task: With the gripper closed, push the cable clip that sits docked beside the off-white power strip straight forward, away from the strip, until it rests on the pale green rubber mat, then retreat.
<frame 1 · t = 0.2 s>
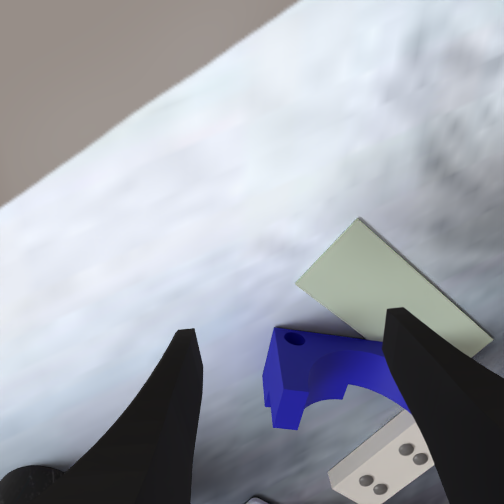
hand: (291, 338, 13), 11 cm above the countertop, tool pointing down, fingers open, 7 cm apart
power strip: (404, 437, 30), on the countertop
mat: (398, 312, 26), on the countertop
travel mug: (42, 491, 31), on the countertop
cable clip: (344, 360, 27), on the countertop, touching mat
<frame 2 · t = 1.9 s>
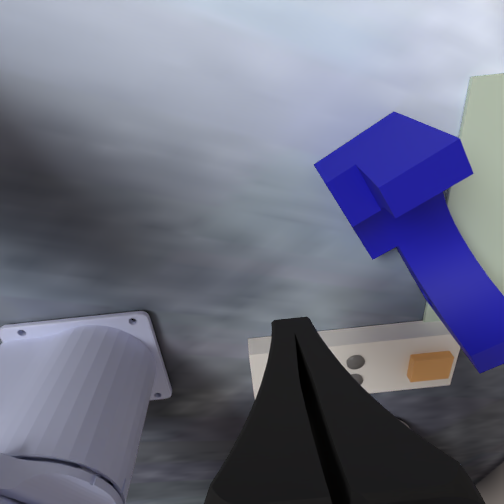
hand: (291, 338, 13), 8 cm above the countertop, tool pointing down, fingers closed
power strip: (348, 354, 25), on the countertop
mat: (493, 215, 20), on the countertop
cable clip: (398, 225, 20), on the countertop, touching mat
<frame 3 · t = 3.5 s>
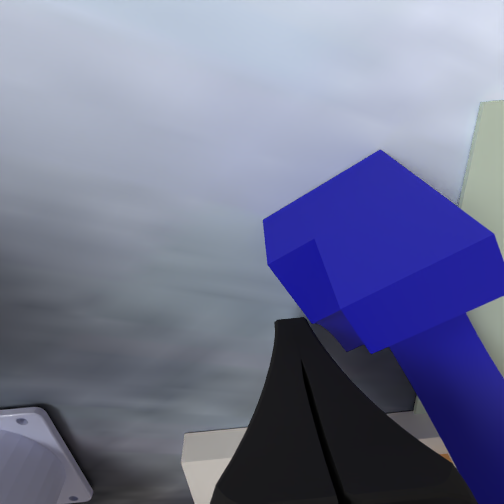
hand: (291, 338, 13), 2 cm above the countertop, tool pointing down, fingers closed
power strip: (317, 448, 20), on the countertop
cable clip: (385, 299, 15), on the countertop, touching gripper
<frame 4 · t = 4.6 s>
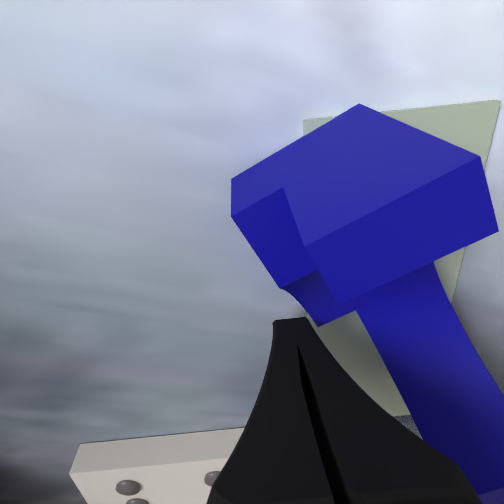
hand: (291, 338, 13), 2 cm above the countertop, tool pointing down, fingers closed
power strip: (219, 458, 20), on the countertop
mat: (378, 301, 15), on the countertop
cable clip: (360, 274, 14), resting on mat, touching gripper
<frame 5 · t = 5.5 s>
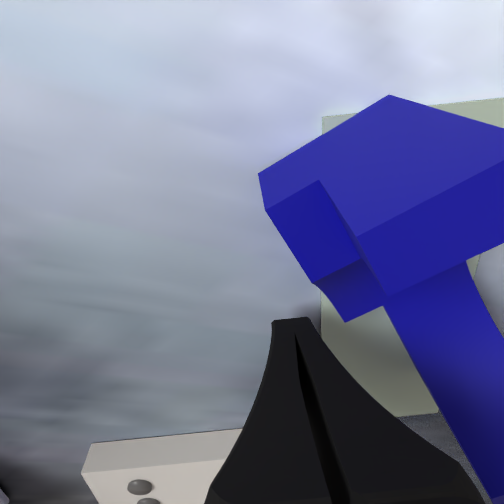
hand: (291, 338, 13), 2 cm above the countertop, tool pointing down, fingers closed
power strip: (230, 457, 20), on the countertop
mat: (393, 300, 15), on the countertop
cable clip: (385, 269, 14), resting on mat
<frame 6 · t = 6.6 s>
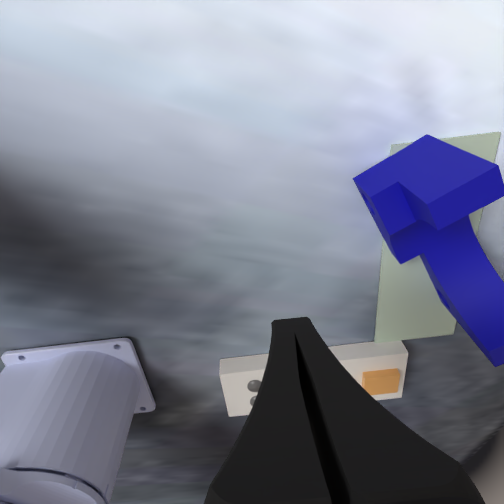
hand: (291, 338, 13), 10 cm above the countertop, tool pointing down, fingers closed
power strip: (310, 371, 29), on the countertop
mat: (426, 253, 23), on the countertop
cable clip: (422, 233, 23), resting on mat
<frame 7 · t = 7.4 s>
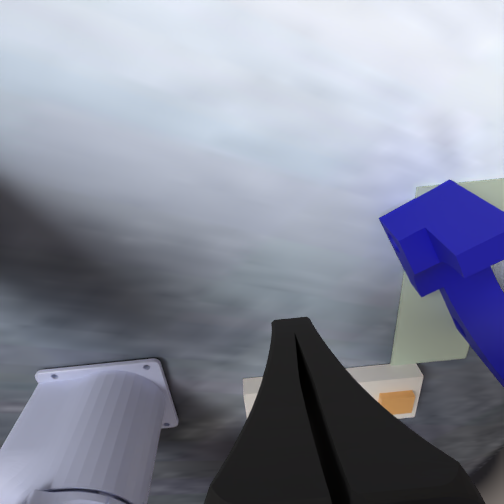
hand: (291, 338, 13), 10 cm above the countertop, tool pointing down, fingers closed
power strip: (328, 390, 30), on the countertop
mat: (444, 284, 25), on the countertop
cable clip: (441, 267, 24), resting on mat
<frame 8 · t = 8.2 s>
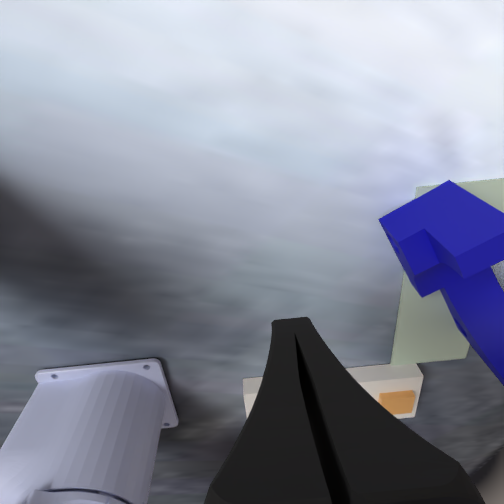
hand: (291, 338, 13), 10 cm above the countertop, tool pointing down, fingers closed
power strip: (328, 390, 30), on the countertop
mat: (444, 284, 25), on the countertop
cable clip: (441, 267, 24), resting on mat
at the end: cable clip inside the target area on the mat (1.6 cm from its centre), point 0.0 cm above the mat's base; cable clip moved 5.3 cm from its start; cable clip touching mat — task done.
